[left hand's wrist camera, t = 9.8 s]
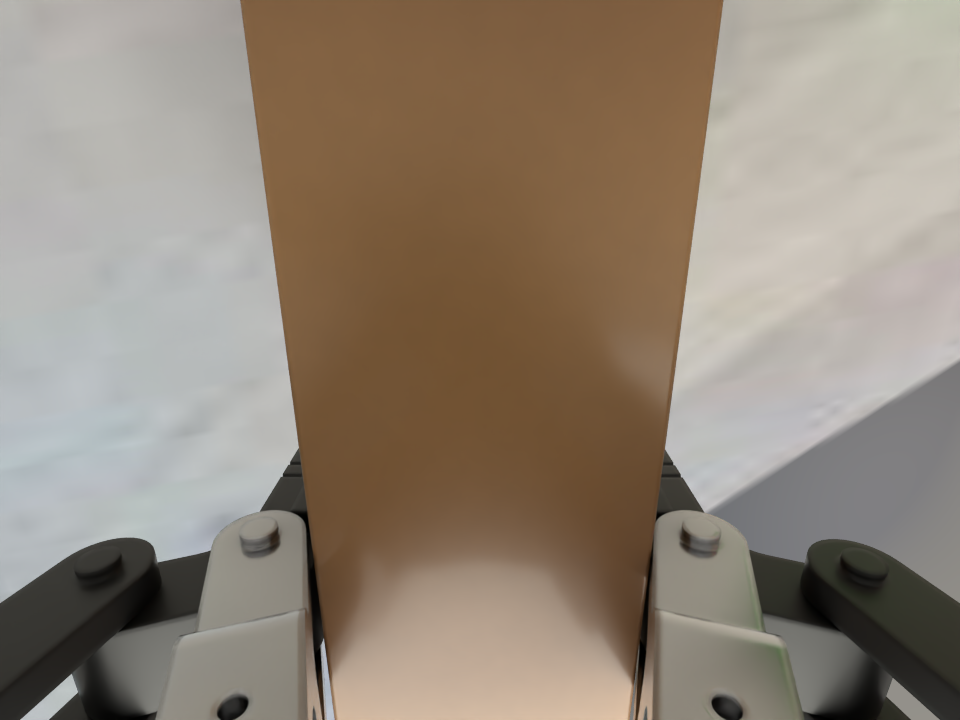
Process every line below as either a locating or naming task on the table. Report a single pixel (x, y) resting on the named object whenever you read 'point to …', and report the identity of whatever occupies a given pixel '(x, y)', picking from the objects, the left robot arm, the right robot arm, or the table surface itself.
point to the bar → (481, 330)
